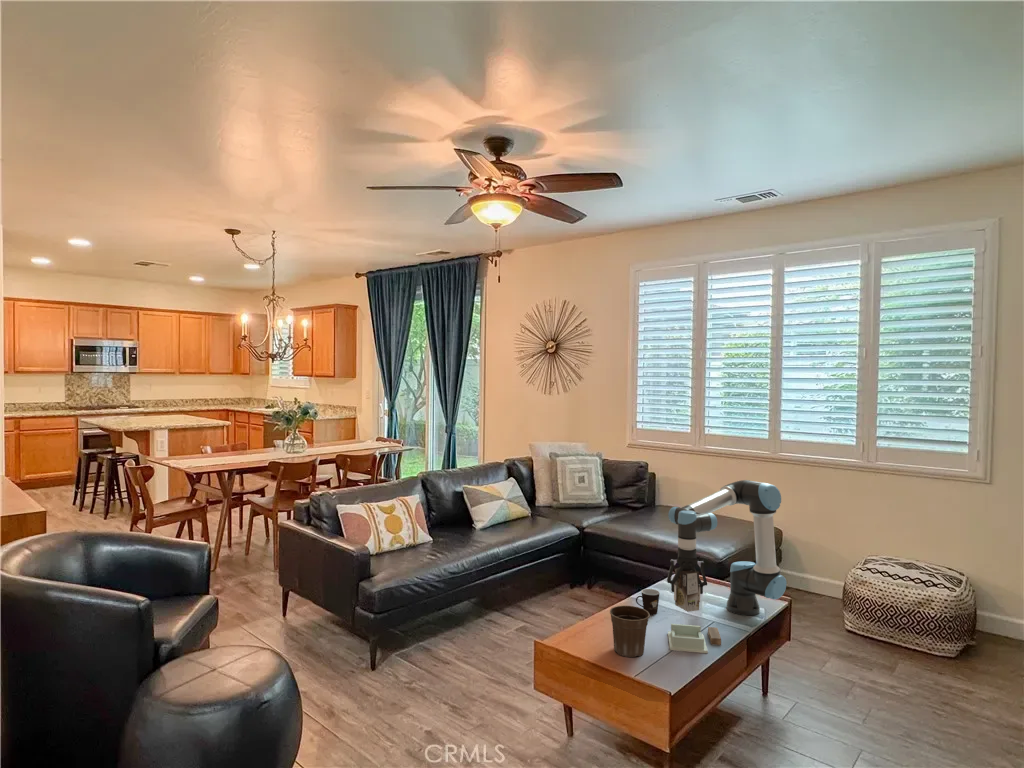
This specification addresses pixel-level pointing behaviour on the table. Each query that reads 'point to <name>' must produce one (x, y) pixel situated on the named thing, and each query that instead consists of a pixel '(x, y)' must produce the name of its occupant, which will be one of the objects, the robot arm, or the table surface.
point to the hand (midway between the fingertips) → (686, 600)
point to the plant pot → (629, 630)
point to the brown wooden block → (714, 635)
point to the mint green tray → (687, 638)
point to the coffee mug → (650, 600)
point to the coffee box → (687, 590)
